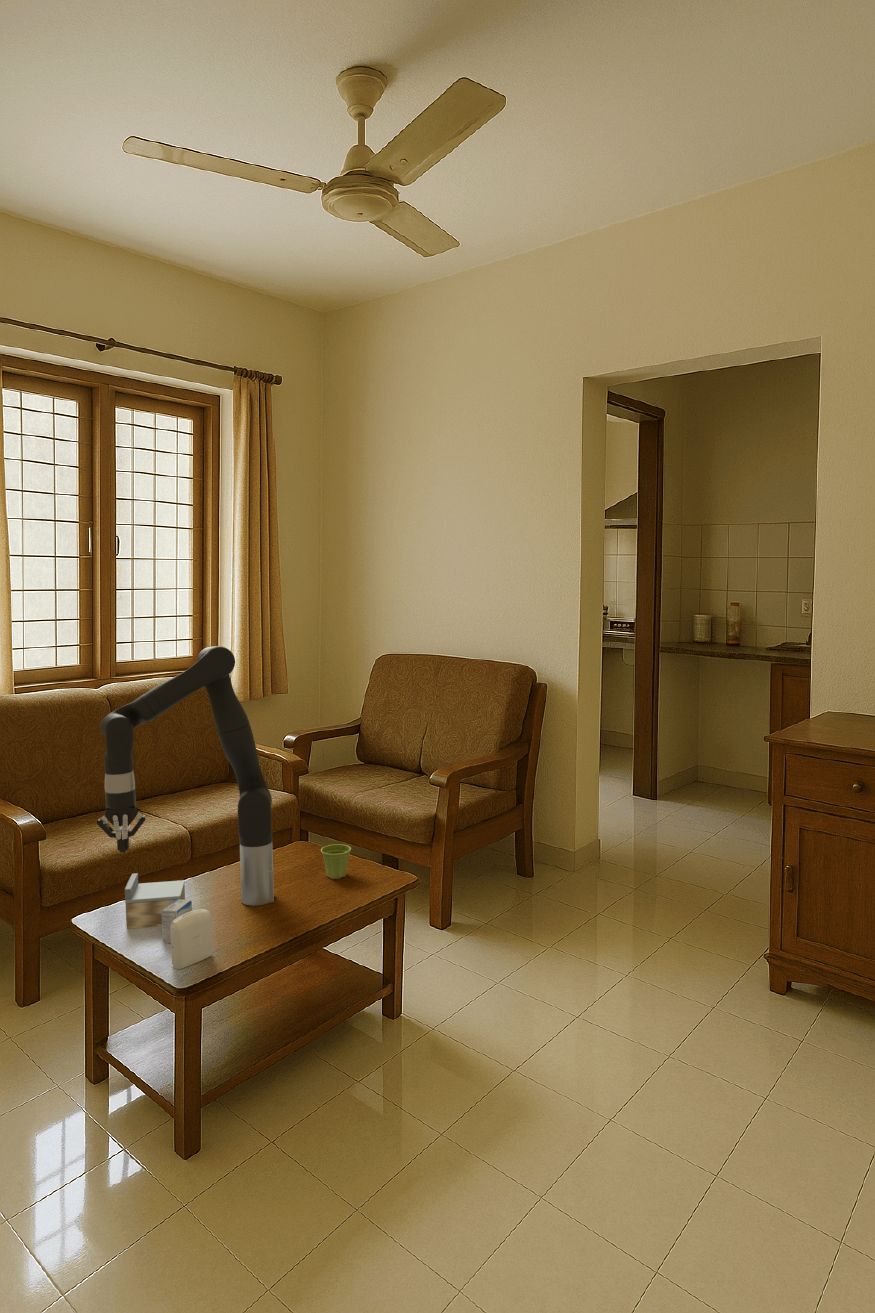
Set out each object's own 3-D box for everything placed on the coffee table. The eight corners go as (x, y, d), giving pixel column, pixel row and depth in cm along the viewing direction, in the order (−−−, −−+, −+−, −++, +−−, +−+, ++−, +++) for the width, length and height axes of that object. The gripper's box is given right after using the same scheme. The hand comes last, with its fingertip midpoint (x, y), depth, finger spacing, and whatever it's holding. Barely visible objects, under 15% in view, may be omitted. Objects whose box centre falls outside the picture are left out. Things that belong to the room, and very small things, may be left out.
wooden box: (185, 908, 231) (184, 884, 231) (181, 924, 221) (180, 899, 220) (133, 912, 229) (132, 888, 228) (126, 929, 218) (125, 903, 217)
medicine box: (178, 944, 208) (176, 911, 208) (162, 943, 209) (160, 910, 209) (193, 931, 216) (192, 899, 215) (177, 930, 217) (176, 898, 216)
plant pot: (349, 881, 252) (349, 853, 251) (319, 881, 252) (318, 854, 251) (353, 870, 261) (352, 844, 260) (323, 870, 261) (323, 844, 261)
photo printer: (178, 971, 194) (176, 921, 193) (168, 966, 197) (166, 916, 195) (215, 956, 202) (214, 908, 201) (205, 951, 204) (204, 903, 203)
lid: (184, 883, 231) (184, 869, 231) (180, 899, 219) (179, 885, 219) (132, 886, 228) (132, 873, 228) (125, 903, 217) (124, 889, 216)
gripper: (148, 783, 222) (151, 845, 224) (97, 786, 220) (100, 849, 222) (143, 790, 215) (147, 854, 217) (90, 793, 213) (94, 858, 214)
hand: (123, 851), depth 219 cm, fingers closed
